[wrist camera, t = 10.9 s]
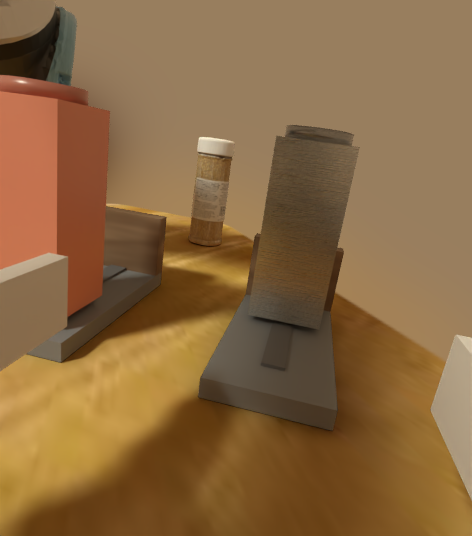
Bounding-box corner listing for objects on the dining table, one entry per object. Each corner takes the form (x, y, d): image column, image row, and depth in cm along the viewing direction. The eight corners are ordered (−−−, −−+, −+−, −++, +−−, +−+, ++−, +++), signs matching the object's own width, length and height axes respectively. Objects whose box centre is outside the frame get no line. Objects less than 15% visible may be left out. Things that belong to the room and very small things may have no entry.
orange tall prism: (56, 323, 22) (57, 80, 19) (-20, 306, 23) (-34, 69, 19) (102, 295, 27) (110, 97, 23) (37, 281, 28) (35, 87, 24)
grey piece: (61, 362, 22) (62, 255, 20) (-48, 335, 23) (-56, 232, 21) (160, 284, 35) (166, 216, 34) (90, 269, 37) (92, 203, 35)
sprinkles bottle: (200, 236, 56) (212, 138, 52) (227, 244, 54) (241, 142, 50) (180, 240, 52) (191, 134, 48) (208, 249, 50) (222, 139, 46)
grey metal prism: (319, 329, 27) (362, 133, 23) (247, 314, 27) (278, 121, 24) (319, 304, 31) (355, 137, 28) (258, 291, 32) (285, 128, 28)
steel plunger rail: (332, 430, 19) (361, 317, 18) (197, 397, 21) (212, 286, 19) (326, 319, 33) (342, 248, 31) (246, 302, 34) (257, 233, 32)
